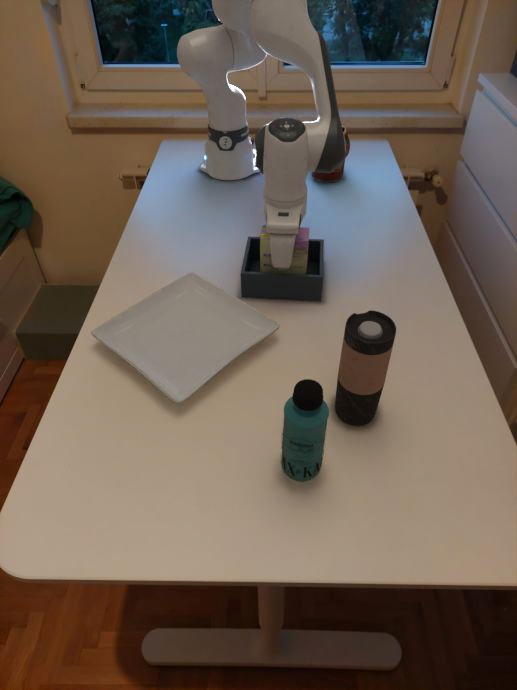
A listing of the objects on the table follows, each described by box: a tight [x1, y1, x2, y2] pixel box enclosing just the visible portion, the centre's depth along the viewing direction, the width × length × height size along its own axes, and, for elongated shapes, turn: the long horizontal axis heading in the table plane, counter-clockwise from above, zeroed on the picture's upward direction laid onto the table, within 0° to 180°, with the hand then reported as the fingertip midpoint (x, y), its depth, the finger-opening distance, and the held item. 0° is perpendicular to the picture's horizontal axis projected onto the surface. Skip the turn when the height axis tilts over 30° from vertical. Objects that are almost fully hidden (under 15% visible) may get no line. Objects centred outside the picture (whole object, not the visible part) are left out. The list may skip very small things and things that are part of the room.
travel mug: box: [334, 309, 397, 427], centre depth 81 cm, size 8×8×20 cm
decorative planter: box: [311, 125, 351, 183], centre depth 149 cm, size 20×12×14 cm, turn 173°
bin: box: [240, 236, 325, 303], centre depth 114 cm, size 15×18×7 cm
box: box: [260, 225, 310, 274], centre depth 112 cm, size 10×6×12 cm, turn 84°
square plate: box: [90, 272, 281, 405], centre depth 100 cm, size 27×27×4 cm
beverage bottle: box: [279, 378, 330, 483], centre depth 73 cm, size 6×7×20 cm
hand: (283, 260), depth 112 cm, fingers closed on box, 5 cm apart
